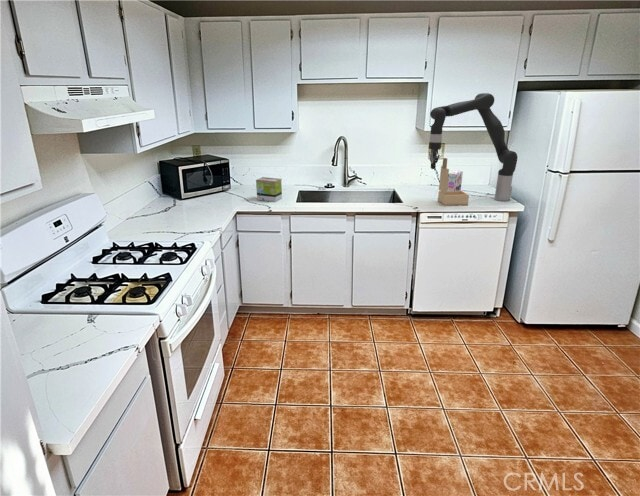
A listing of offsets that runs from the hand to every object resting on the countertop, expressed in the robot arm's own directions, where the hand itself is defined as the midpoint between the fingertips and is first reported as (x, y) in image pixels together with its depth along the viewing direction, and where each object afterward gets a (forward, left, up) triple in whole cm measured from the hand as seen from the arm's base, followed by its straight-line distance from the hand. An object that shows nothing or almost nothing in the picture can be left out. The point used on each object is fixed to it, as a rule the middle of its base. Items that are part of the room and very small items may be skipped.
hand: (432, 168), depth 266 cm
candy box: (-25, -22, -24) cm, 41 cm away
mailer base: (-16, 0, -24) cm, 28 cm away
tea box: (+107, -22, -24) cm, 112 cm away
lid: (-9, 0, -5) cm, 10 cm away
